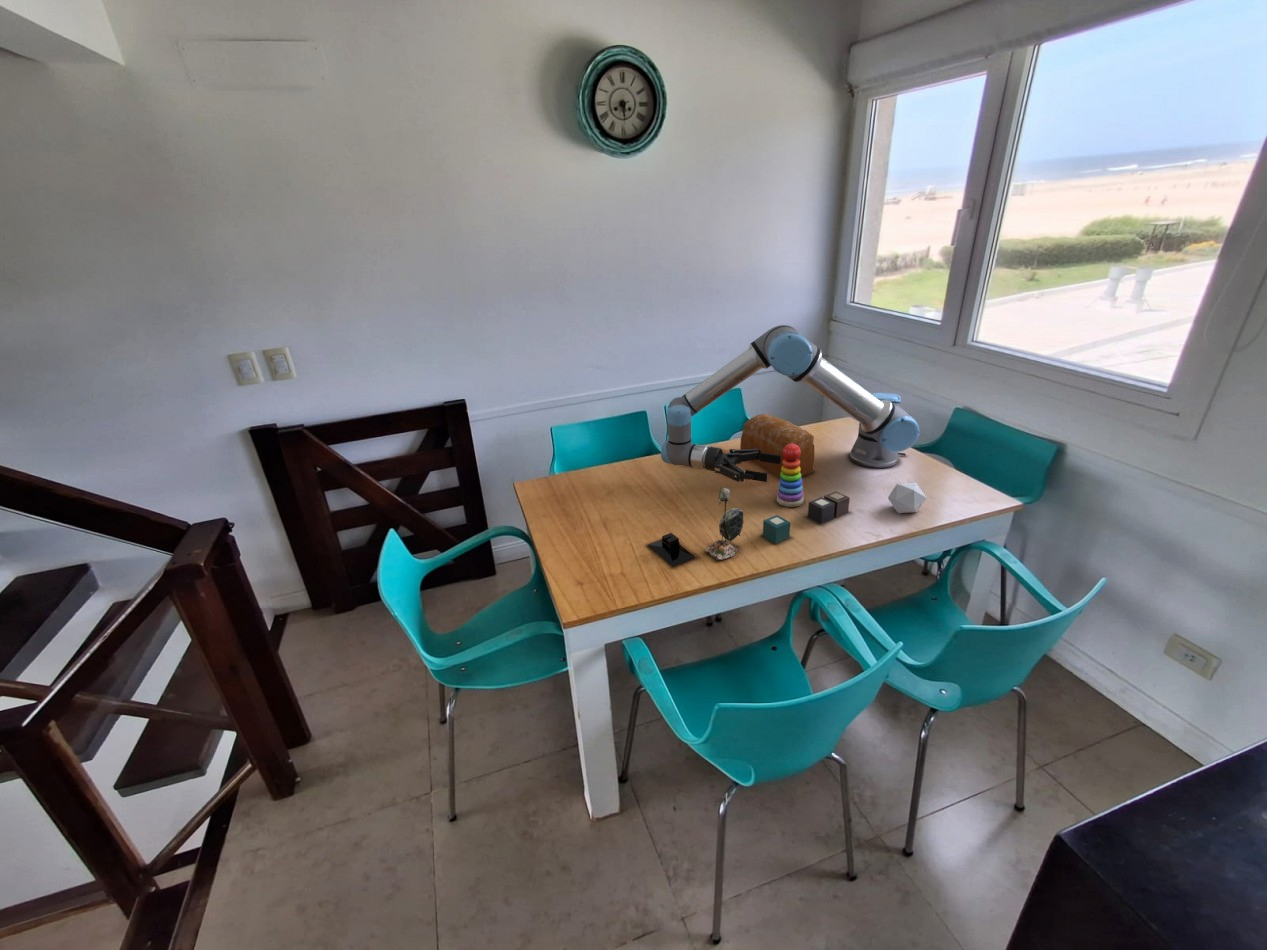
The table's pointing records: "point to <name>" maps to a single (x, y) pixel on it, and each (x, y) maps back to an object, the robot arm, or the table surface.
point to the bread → (777, 441)
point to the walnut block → (839, 503)
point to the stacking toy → (790, 478)
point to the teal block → (776, 529)
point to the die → (907, 497)
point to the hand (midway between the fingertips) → (774, 468)
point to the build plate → (671, 550)
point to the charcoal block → (821, 510)
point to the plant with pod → (727, 529)
